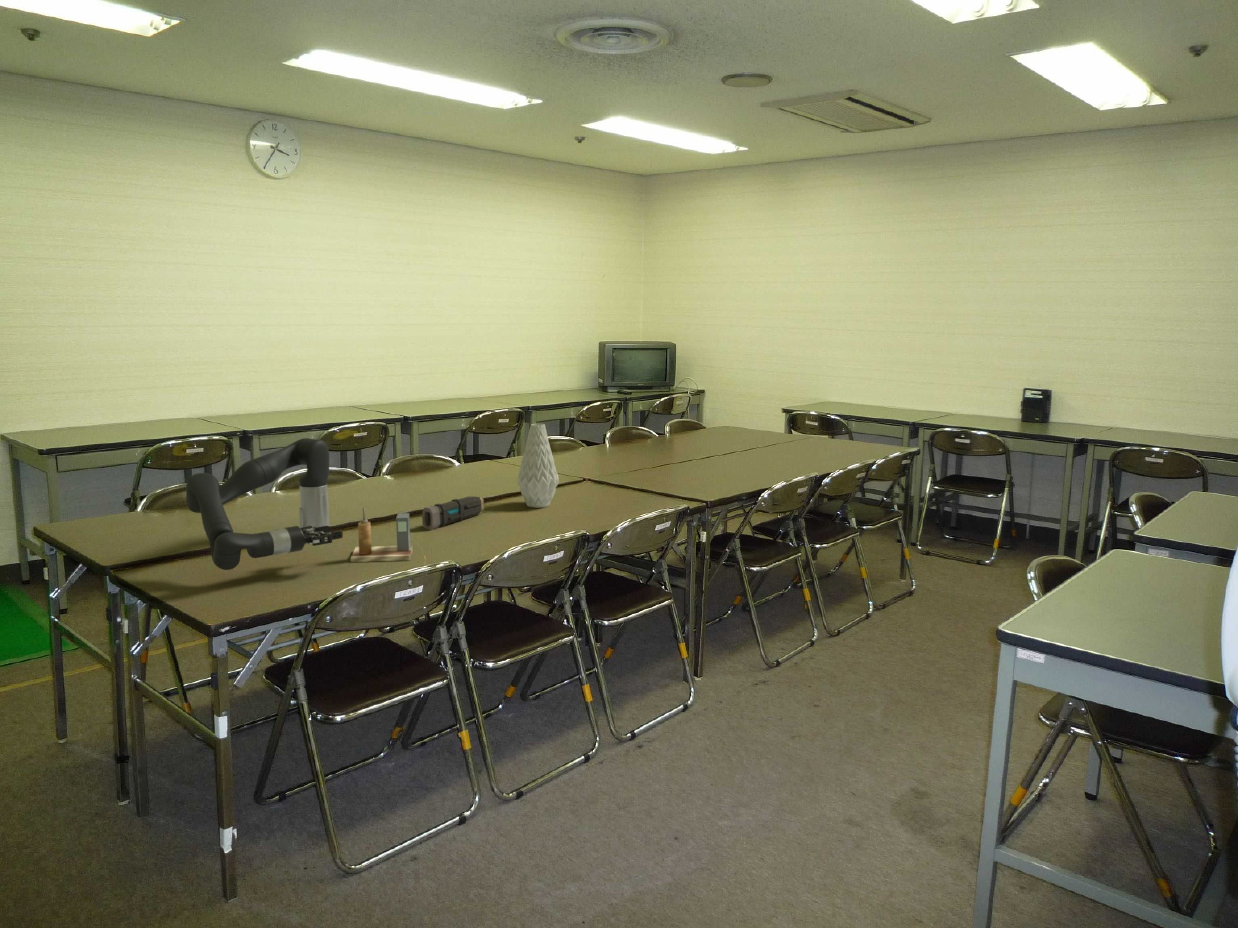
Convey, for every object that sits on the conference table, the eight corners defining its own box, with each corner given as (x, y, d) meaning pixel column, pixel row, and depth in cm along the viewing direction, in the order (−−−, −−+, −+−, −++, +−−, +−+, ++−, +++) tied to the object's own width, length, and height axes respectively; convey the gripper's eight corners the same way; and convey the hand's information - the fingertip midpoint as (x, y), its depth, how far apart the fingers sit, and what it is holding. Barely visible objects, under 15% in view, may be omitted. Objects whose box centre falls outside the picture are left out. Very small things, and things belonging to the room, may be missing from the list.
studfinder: (397, 551, 286) (396, 518, 284) (399, 545, 292) (398, 513, 290) (408, 551, 286) (407, 517, 284) (410, 545, 293) (409, 513, 291)
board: (350, 562, 279) (350, 557, 279) (356, 551, 291) (356, 546, 290) (409, 560, 282) (409, 555, 281) (412, 549, 293) (412, 545, 293)
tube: (489, 522, 341) (435, 529, 316) (476, 524, 345) (421, 531, 319) (486, 494, 342) (431, 499, 316) (472, 496, 345) (417, 501, 320)
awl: (358, 555, 281) (356, 509, 278) (360, 551, 285) (358, 506, 282) (370, 555, 281) (369, 508, 279) (372, 551, 285) (370, 505, 282)
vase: (565, 507, 354) (565, 426, 348) (525, 511, 347) (525, 428, 341) (550, 499, 369) (550, 420, 363) (511, 502, 362) (511, 422, 356)
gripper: (294, 533, 258) (346, 523, 269) (273, 523, 268) (324, 515, 279) (295, 558, 259) (347, 548, 270) (274, 548, 269) (325, 538, 280)
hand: (335, 531), depth 275 cm, fingers open, 8 cm apart
